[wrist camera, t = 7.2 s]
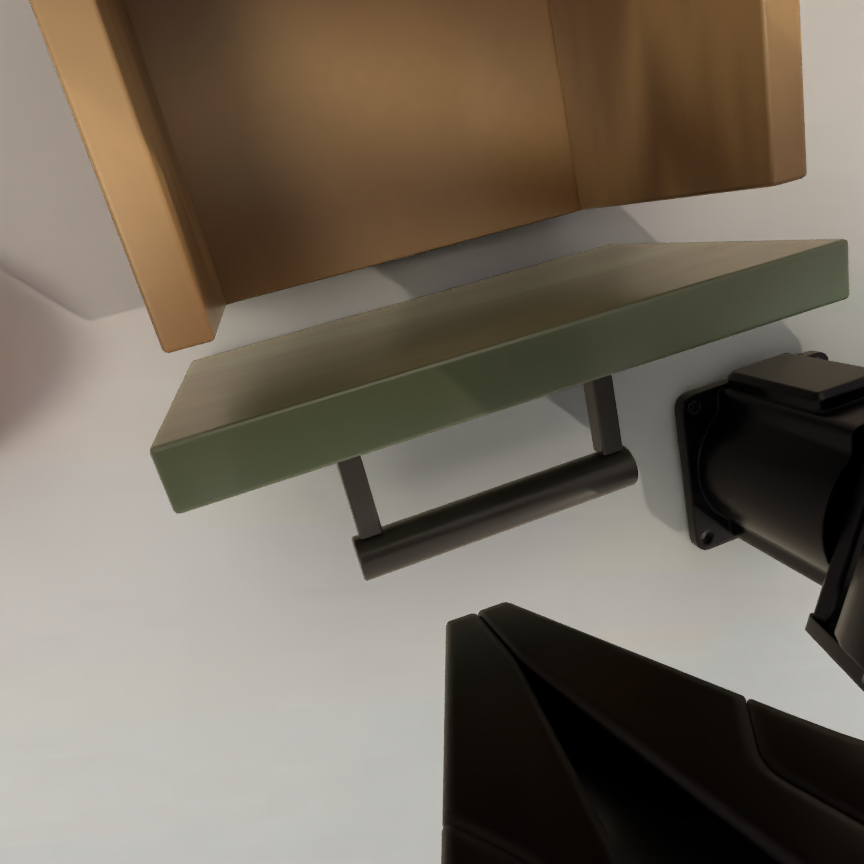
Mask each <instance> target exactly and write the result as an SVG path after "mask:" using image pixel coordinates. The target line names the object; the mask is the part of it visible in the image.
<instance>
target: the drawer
mask: <svg viewBox="0 0 864 864" xmlns="http://www.w3.org/2000/svg"><path fill="white" fill-rule="evenodd" d="M29 1H30V4H31V7H32V9H33V12H34V14H35V17H36V20H37V22H38V25H39V27H40V30H41V33H42V35H43V38H44V41H45V43H46V46H47V48H48V51H49V54H50V56H51V59H52V62H53V64H54V67H55V69H56V72H57V75H58V77H59V80H60V83H61V85H62V88H63V90H64V93H65V96H66V98H67V101H68V104H69V106H70V109H71V111H72V114H73V117H74V119H75V122H76V124H77V127H78V130H79V132H80V135H81V138H82V140H83V143H84V145H85V148H86V151H87V153H88V156H89V159H90V161H91V164H92V166H93V169H94V172H95V174H96V177H97V180H98V182H99V185H100V187H101V190H102V193H103V195H104V198H105V201H106V203H107V206H108V208H109V211H110V214H111V216H112V219H113V221H114V224H115V227H116V229H117V232H118V235H119V237H120V240H121V242H122V245H123V248H124V250H125V253H126V256H127V258H128V261H129V263H130V266H131V269H132V271H133V274H134V277H135V279H136V282H137V284H138V287H139V290H140V292H141V295H142V298H143V300H144V303H145V305H146V308H147V311H148V313H149V316H150V318H151V321H152V324H153V326H154V329H155V332H156V334H157V337H158V339H159V342H160V345H161V347H162V350H163V351H164V352H166V353H170V352H173V351H177V350H181V349H184V348H188V347H192V346H195V345H199V344H203V343H206V342H210V341H212V340H213V339H214V337H215V335H216V332H217V329H218V326H219V323H220V320H221V317H222V315H223V312H224V309H225V306H226V305H227V304H230V303H234V302H238V301H242V300H246V299H249V298H253V297H257V296H261V295H264V294H268V293H272V292H276V291H279V290H283V289H287V288H291V287H294V286H298V285H302V284H306V283H309V282H313V281H317V280H321V279H325V278H328V277H332V276H336V275H340V274H343V273H347V272H351V271H355V270H358V269H362V268H366V267H370V266H373V265H377V264H381V263H385V262H388V261H392V260H396V259H400V258H404V257H407V256H411V255H415V254H419V253H422V252H426V251H430V250H434V249H437V248H441V247H445V246H449V245H452V244H456V243H460V242H464V241H467V240H471V239H475V238H479V237H483V236H486V235H490V234H494V233H498V232H501V231H505V230H509V229H513V228H516V227H520V226H524V225H528V224H531V223H535V222H539V221H543V220H546V219H550V218H554V217H558V216H562V215H565V214H569V213H573V212H577V211H580V210H587V209H595V208H603V207H611V206H619V205H627V204H635V203H643V202H651V201H659V200H667V199H675V198H683V197H691V196H699V195H707V194H715V193H723V192H731V191H739V190H747V189H755V188H763V187H771V186H776V185H780V184H783V183H787V182H791V181H794V180H798V179H801V178H803V177H804V176H806V148H805V125H804V101H803V77H802V54H801V30H800V6H799V0H29ZM848 296H849V272H848V242H847V240H844V239H819V240H775V241H731V242H687V243H642V244H609V245H605V246H602V247H598V248H595V249H591V250H588V251H584V252H580V253H577V254H573V255H570V256H566V257H562V258H559V259H555V260H552V261H548V262H545V263H541V264H537V265H534V266H530V267H527V268H523V269H520V270H516V271H512V272H509V273H505V274H502V275H498V276H495V277H491V278H487V279H484V280H480V281H477V282H473V283H469V284H466V285H462V286H459V287H455V288H452V289H448V290H444V291H441V292H437V293H434V294H430V295H427V296H423V297H419V298H416V299H412V300H409V301H405V302H402V303H398V304H394V305H391V306H387V307H384V308H380V309H376V310H373V311H369V312H366V313H362V314H359V315H355V316H351V317H348V318H344V319H341V320H337V321H334V322H330V323H326V324H323V325H319V326H316V327H312V328H308V329H305V330H301V331H298V332H294V333H291V334H287V335H283V336H280V337H276V338H273V339H269V340H266V341H262V342H258V343H255V344H251V345H248V346H244V347H241V348H237V349H233V350H230V351H226V352H223V353H219V354H215V355H212V356H208V357H205V358H201V359H198V360H194V361H193V362H192V363H191V365H190V367H189V369H188V371H187V373H186V375H185V377H184V379H183V381H182V384H181V386H180V388H179V390H178V392H177V394H176V396H175V398H174V400H173V402H172V404H171V406H170V409H169V411H168V413H167V415H166V417H165V419H164V421H163V423H162V425H161V427H160V429H159V432H158V434H157V436H156V438H155V440H154V442H153V444H152V446H151V448H150V455H151V457H152V459H153V462H154V464H155V467H156V469H157V472H158V474H159V476H160V479H161V481H162V484H163V486H164V489H165V491H166V494H167V496H168V498H169V501H170V503H171V506H172V508H173V510H174V511H175V512H176V513H184V512H187V511H190V510H193V509H196V508H199V507H202V506H205V505H208V504H211V503H215V502H218V501H221V500H224V499H227V498H230V497H233V496H236V495H239V494H242V493H246V492H249V491H252V490H255V489H258V488H261V487H264V486H267V485H270V484H273V483H277V482H280V481H283V480H286V479H289V478H292V477H295V476H298V475H301V474H304V473H308V472H311V471H314V470H317V469H320V468H323V467H326V466H329V465H332V464H335V463H336V464H337V467H338V470H339V473H340V477H341V480H342V483H343V486H344V489H345V493H346V496H347V499H348V502H349V506H350V509H351V512H352V515H353V519H354V522H355V525H356V528H357V531H358V534H359V535H356V536H353V537H352V542H353V545H354V549H355V552H356V555H357V558H358V561H359V564H360V567H361V570H362V573H363V576H364V579H365V580H367V581H368V580H371V579H373V578H376V577H379V576H382V575H384V574H387V573H390V572H393V571H395V570H398V569H401V568H404V567H407V566H409V565H412V564H415V563H418V562H420V561H423V560H426V559H429V558H431V557H434V556H437V555H440V554H442V553H445V552H448V551H451V550H454V549H456V548H459V547H462V546H465V545H467V544H470V543H473V542H476V541H478V540H481V539H484V538H487V537H490V536H492V535H495V534H498V533H501V532H503V531H506V530H509V529H512V528H514V527H517V526H520V525H523V524H525V523H528V522H531V521H534V520H537V519H539V518H542V517H545V516H548V515H550V514H553V513H556V512H559V511H561V510H564V509H567V508H570V507H572V506H575V505H578V504H581V503H584V502H586V501H589V500H592V499H595V498H597V497H600V496H603V495H606V494H608V493H611V492H614V491H617V490H620V489H622V488H625V487H628V486H631V485H633V484H635V483H636V482H637V479H638V469H637V465H636V462H635V459H634V457H633V455H632V454H631V452H630V451H629V450H628V449H627V448H626V447H625V446H623V445H622V442H621V435H620V429H619V422H618V415H617V408H616V402H615V395H614V388H613V382H612V375H611V374H614V373H617V372H621V371H624V370H627V369H630V368H633V367H636V366H639V365H642V364H645V363H648V362H652V361H655V360H658V359H661V358H664V357H667V356H670V355H673V354H676V353H679V352H683V351H686V350H689V349H692V348H695V347H698V346H701V345H704V344H707V343H710V342H714V341H717V340H720V339H723V338H726V337H729V336H732V335H735V334H738V333H741V332H745V331H748V330H751V329H754V328H757V327H760V326H763V325H766V324H769V323H772V322H776V321H779V320H782V319H785V318H788V317H791V316H794V315H797V314H800V313H803V312H807V311H810V310H813V309H816V308H819V307H822V306H825V305H828V304H831V303H834V302H838V301H841V300H844V299H846V298H848ZM580 384H583V386H584V392H585V398H586V404H587V410H588V416H589V422H590V428H591V435H592V441H593V447H594V450H595V451H597V452H596V453H593V454H590V455H587V456H584V457H581V458H578V459H575V460H573V461H570V462H567V463H564V464H561V465H558V466H555V467H552V468H549V469H547V470H544V471H541V472H538V473H535V474H532V475H529V476H526V477H524V478H521V479H518V480H515V481H512V482H509V483H506V484H503V485H500V486H498V487H495V488H492V489H489V490H486V491H483V492H480V493H477V494H474V495H472V496H469V497H466V498H463V499H460V500H457V501H454V502H451V503H448V504H446V505H443V506H440V507H437V508H434V509H431V510H428V511H425V512H423V513H420V514H417V515H414V516H411V517H408V518H405V519H402V520H399V521H397V522H394V523H391V524H388V525H385V526H382V527H381V524H380V520H379V517H378V513H377V510H376V507H375V503H374V500H373V496H372V493H371V490H370V486H369V483H368V479H367V476H366V473H365V469H364V466H363V462H362V459H361V456H360V455H363V454H366V453H369V452H373V451H376V450H379V449H382V448H385V447H388V446H391V445H394V444H397V443H400V442H404V441H407V440H410V439H413V438H416V437H419V436H422V435H425V434H428V433H431V432H435V431H438V430H441V429H444V428H447V427H450V426H453V425H456V424H459V423H462V422H466V421H469V420H472V419H475V418H478V417H481V416H484V415H487V414H490V413H493V412H497V411H500V410H503V409H506V408H509V407H512V406H515V405H518V404H521V403H524V402H528V401H531V400H534V399H537V398H540V397H543V396H546V395H549V394H552V393H555V392H559V391H562V390H565V389H568V388H571V387H574V386H577V385H580Z"/></svg>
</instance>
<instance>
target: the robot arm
mask: <svg viewBox="0 0 864 864" xmlns="http://www.w3.org/2000/svg"><path fill="white" fill-rule="evenodd" d="M691 402H693V406H692V408H691V410H690V411H688V406H689V404H690V403H691ZM675 412H676V421H677V429H678V438H679V446H680V455H681V463H682V472H683V480H684V489H685V497H686V505H687V514H688V522H689V531H690V539H691V542H692V543H693V544H694V545H696V546H697V547H699V548H700V549H703V550H707V549H711V548H713V547H716V546H718V545H721V544H723V543H726V542H729V541H731V540H734V539H736V538H740V539H742V540H743V541H745V542H747V543H749V544H750V545H752V546H754V547H755V548H757V549H759V550H761V551H762V552H764V553H766V554H768V555H769V556H771V557H773V558H775V559H776V560H778V561H780V562H781V563H783V564H785V565H787V566H788V567H790V568H792V569H794V570H795V571H797V572H799V573H801V574H802V575H804V576H806V577H807V578H809V579H811V580H813V581H814V582H816V583H818V584H820V585H821V586H822V589H821V592H820V595H819V598H818V601H817V605H816V608H815V611H814V613H810V615H809V618H808V622H807V625H806V628H805V630H806V631H807V632H808V633H809V634H810V635H811V636H812V638H813V639H814V640H815V641H816V642H817V643H818V644H819V645H820V646H821V647H822V648H823V649H824V650H825V651H826V652H827V653H828V654H829V655H830V656H831V658H832V659H833V660H834V661H835V662H836V663H837V664H838V665H839V666H840V667H841V668H842V669H843V670H844V671H845V672H846V673H847V674H848V675H849V676H850V678H851V679H852V680H853V681H854V682H855V683H856V684H857V685H858V686H859V687H860V688H861V689H862V690H863V691H864V367H860V366H855V365H849V364H844V363H838V362H833V361H828V357H827V356H826V354H824V353H822V352H817V351H808V352H805V353H802V354H799V355H795V354H790V353H785V354H782V355H779V356H776V357H773V358H770V359H767V360H764V361H761V362H758V363H755V364H752V365H749V366H746V367H743V368H740V369H737V370H734V371H732V372H731V373H730V374H729V375H728V377H727V379H725V380H722V381H719V382H716V383H713V384H710V385H707V386H704V387H701V388H698V389H695V390H692V391H689V392H686V393H684V394H682V395H681V396H680V397H679V398H678V399H677V402H676V404H675ZM706 533H707V534H706ZM704 534H706V536H705V538H704V539H702V538H703V536H704ZM441 864H864V741H863V740H860V739H857V738H854V737H851V736H848V735H845V734H842V733H839V732H836V731H833V730H831V729H828V728H825V727H823V726H820V725H817V724H815V723H812V722H809V721H807V720H804V719H801V718H799V717H796V716H793V715H791V714H788V713H785V712H783V711H780V710H778V709H775V708H773V707H770V706H768V705H765V704H763V703H760V702H758V701H755V700H752V699H749V700H748V701H747V703H746V699H745V697H744V696H742V695H739V694H737V693H734V692H732V691H729V690H727V689H724V688H722V687H719V686H717V685H714V684H712V683H709V682H707V681H704V680H702V679H699V678H697V677H694V676H692V675H689V674H687V673H684V672H682V671H679V670H677V669H674V668H672V667H669V666H667V665H664V664H662V663H659V662H657V661H654V660H652V659H649V658H647V657H644V656H642V655H639V654H637V653H634V652H631V651H629V650H626V649H624V648H621V647H619V646H616V645H614V644H611V643H609V642H606V641H604V640H601V639H599V638H596V637H594V636H591V635H589V634H586V633H584V632H581V631H579V630H576V629H574V628H571V627H569V626H566V625H564V624H561V623H559V622H556V621H554V620H551V619H549V618H546V617H544V616H541V615H539V614H536V613H534V612H531V611H529V610H526V609H524V608H521V607H519V606H516V605H513V604H511V603H507V602H504V603H501V604H498V605H495V606H492V607H489V608H486V609H483V610H481V611H480V612H479V613H478V615H477V614H469V615H466V616H463V617H460V618H457V619H454V620H451V621H449V622H448V623H447V625H446V661H445V718H444V773H443V830H442V856H441Z"/></svg>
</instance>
